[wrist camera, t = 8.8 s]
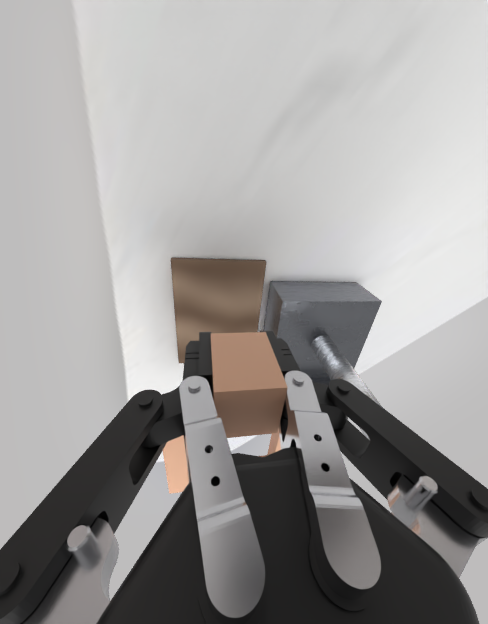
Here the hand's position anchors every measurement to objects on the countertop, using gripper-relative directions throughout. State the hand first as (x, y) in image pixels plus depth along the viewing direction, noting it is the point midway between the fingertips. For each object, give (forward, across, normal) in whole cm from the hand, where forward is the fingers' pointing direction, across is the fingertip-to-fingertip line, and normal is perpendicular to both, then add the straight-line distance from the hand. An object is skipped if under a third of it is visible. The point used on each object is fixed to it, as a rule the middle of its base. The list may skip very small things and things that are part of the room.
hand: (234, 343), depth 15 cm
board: (+14, 0, +6) cm, 15 cm away
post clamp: (+14, -11, +9) cm, 20 cm away
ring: (-1, 0, +5) cm, 5 cm away
